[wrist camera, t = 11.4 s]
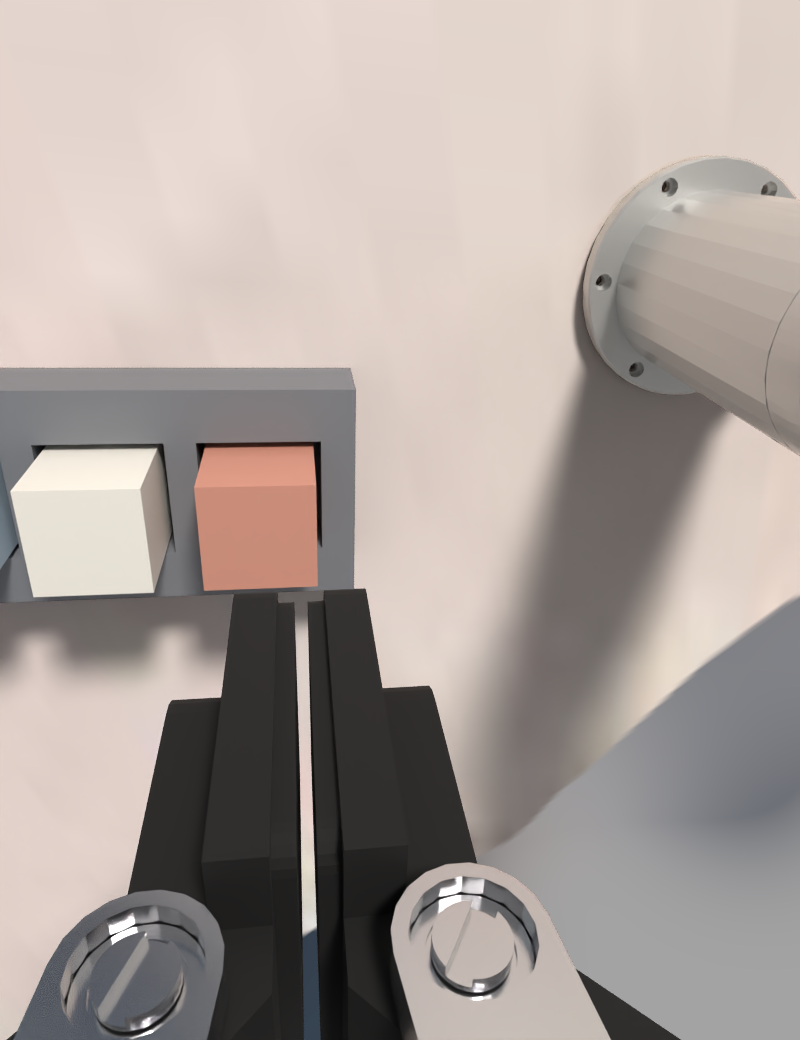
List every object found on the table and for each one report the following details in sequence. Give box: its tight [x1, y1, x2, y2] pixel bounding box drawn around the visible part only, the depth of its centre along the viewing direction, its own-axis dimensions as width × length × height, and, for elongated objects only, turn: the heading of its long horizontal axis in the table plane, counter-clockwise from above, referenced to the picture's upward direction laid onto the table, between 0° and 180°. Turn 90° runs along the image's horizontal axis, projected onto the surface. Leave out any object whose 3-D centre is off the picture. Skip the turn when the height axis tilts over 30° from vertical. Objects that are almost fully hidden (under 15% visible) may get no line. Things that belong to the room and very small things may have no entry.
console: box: [0, 368, 356, 603], centre depth 41 cm, size 26×12×4 cm, turn 89°
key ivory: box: [10, 444, 172, 597], centre depth 38 cm, size 6×6×6 cm
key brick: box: [194, 442, 318, 591], centre depth 39 cm, size 6×6×6 cm
